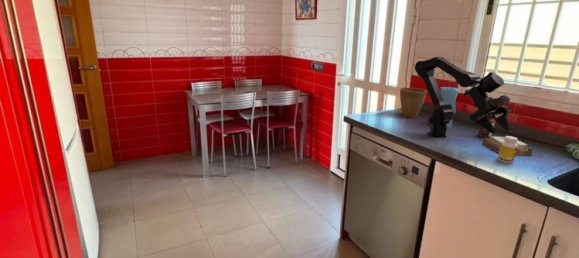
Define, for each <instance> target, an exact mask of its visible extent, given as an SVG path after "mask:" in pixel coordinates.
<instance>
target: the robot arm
mask: <svg viewBox="0 0 579 258" xmlns="http://www.w3.org/2000/svg"><path fill="white" fill-rule="evenodd" d="M436 68H438V69H440V70H441V71H443V72H445V73H446V74H447V75H449V76H451V77H453V78H454V80H455V83H457V84H458V85H459V86H460V87H461V88H464V89H465V88H469V89H465V90H464V93H463V97H470V99H471V101H472V102H473V108H477V110H476V111H474V112H473V113H471V114H470V115H469V120H470V122H471V123H473V122H474V124H477V125H478V126H479V127H480V126H482V127H483V128H485V129H486V130H488V131H489V132H491V133H493V134H495V133H496V129H495V126H494V127H493V125H492V123H491V121H490V116H492V117H493V118H494V120H495V121H496V122H495V123H497V124H498V125H499V126H500V127H501V128H503V129H504V131H506V132H508V131H510V124H509V121H508V117H509V115H510V113H511V111H512V109H511V108H510V107H509V106H508V105H510V100H511V98H510V97H509V96H508V95H507V94H503V95H500V96H499V97H496V98H494V97H492V96H489V95H488V93H489V94H491V93H493V92H495V91H496V90H497V89H499V88H501V87H502V86H503V85H504V84H505V80H504V79H503V78H502V77H501V75H499V74H498V73H497V74H496V72H495V71H490V72H488V73H487V75H485V76H483V77H480V75H478V74H477V73H474V72H472V71H468V70H464V69H462V68H460V67H458V66H457V65H455V64H454V63H452V62H450V61H449V60H447V59H445V58H444V57H443V56H433V58H428V59H425V60H418V61H417V62H416V63H415V65H414V71H415V72H416V74H417V75H418V77H420V78H421V79H422V80H423V82H424V85H425V87H426V90H427V94H428V95H429V97H430V100H431V102H432V104H433V109H432V114H433V115H431V116H430V117H428V123H429V124H430V126H429V131H427V134H429V135H430V136H431V137H432V138H446V137H447V136H446V134H447V129H448V127H446V125H447V124H448V123H449V122H450V120H452V119H453V118H454V116H455V114H454V113H453V112H454V110H453V109H452V106H451V104H446V103H445V102H444V100H443V97H442V95H441V89H440V87H439V86H438V83H437V81H436V78H435V75H434V74H435V69H436ZM452 121H453V120H452Z"/></svg>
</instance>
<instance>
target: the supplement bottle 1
mask: <svg viewBox="0 0 579 258" xmlns="http://www.w3.org/2000/svg"><path fill="white" fill-rule="evenodd" d="M494 119H495V118H493V117H492V116H490V121H491V123H492V125H493V127H494V128H495V125H496V123H497V122H496V121H495V120H494ZM477 135H478V137H480V138H484V139H485V138H488V139H489V137H493V133H491V132H489V131H488V130H486V129H485V128H483V127H482V126H480V125H479V128H478V133H477Z"/></svg>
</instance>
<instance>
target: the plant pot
mask: <svg viewBox="0 0 579 258" xmlns="http://www.w3.org/2000/svg"><path fill="white" fill-rule="evenodd" d="M427 94H428V90H427V89H424V88H419V87H418V88H417V87H401V88H399V98H400V105H401V106H400V108H401V111H402V116H403V117H406V118H409V119H410V118H413V119H414V118H415V119H416V118H417V117H418V115H419V113H420V112H421V110H422V107H423V106H424V103H425V100H426V98H427Z"/></svg>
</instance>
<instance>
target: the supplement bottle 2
mask: <svg viewBox="0 0 579 258" xmlns="http://www.w3.org/2000/svg"><path fill="white" fill-rule="evenodd" d="M504 137H505V141H503V142H502V144H501V148H500V151H499V153H498V155H497V160H499V162H502V163H505V164H513V163H514V162H515V158H516V156H517V155H516V151H517V148H518V145H517V144H516V142H517V140H518V137H517V136H516V137H515V136H511V135H506V136H504Z"/></svg>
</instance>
